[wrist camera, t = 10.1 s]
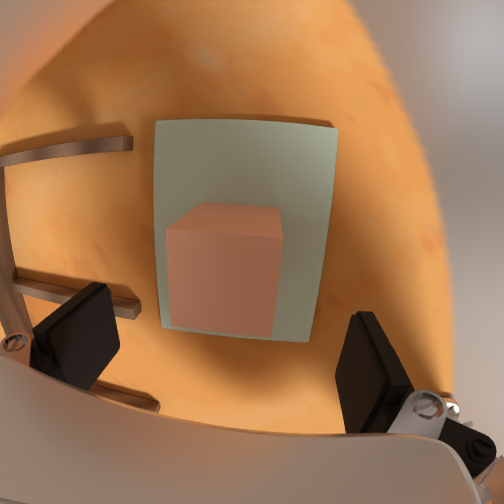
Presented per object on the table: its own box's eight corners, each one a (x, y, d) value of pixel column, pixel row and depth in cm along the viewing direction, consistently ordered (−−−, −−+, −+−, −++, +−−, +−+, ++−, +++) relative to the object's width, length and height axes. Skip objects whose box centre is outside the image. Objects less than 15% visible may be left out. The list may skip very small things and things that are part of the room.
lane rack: (133, 136, 18) (103, 134, 14) (160, 407, 27) (149, 433, 23) (-1, 158, 18) (-29, 163, 15) (45, 370, 27) (30, 388, 24)
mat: (336, 129, 17) (338, 128, 16) (307, 338, 22) (308, 342, 22) (158, 121, 17) (155, 120, 17) (164, 323, 23) (161, 327, 22)
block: (278, 207, 18) (283, 238, 12) (271, 278, 20) (271, 337, 13) (202, 201, 18) (166, 228, 12) (201, 271, 20) (171, 325, 13)
